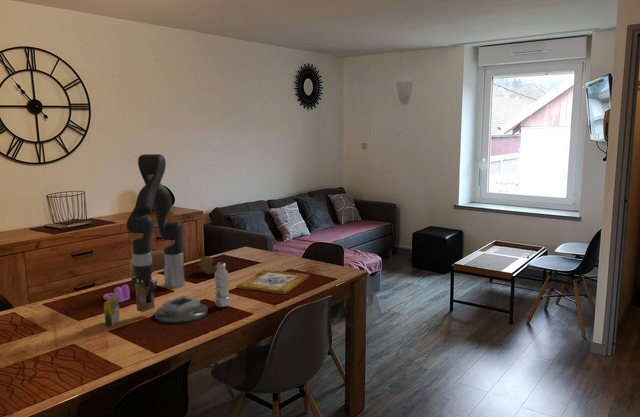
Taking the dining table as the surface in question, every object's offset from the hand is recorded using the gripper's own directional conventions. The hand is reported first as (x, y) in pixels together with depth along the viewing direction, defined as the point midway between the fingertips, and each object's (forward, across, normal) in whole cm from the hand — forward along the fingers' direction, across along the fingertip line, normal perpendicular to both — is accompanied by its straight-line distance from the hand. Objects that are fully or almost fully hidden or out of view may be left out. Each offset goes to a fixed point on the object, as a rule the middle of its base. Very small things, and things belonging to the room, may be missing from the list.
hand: (145, 301), depth 211 cm
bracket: (+7, -32, +8) cm, 33 cm away
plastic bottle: (+7, +20, +26) cm, 33 cm away
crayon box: (+7, -6, -12) cm, 15 cm away
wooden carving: (+7, -23, +62) cm, 66 cm away
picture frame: (+8, +18, +67) cm, 70 cm away
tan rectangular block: (+3, 0, 0) cm, 3 cm away
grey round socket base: (+6, +11, +10) cm, 16 cm away
